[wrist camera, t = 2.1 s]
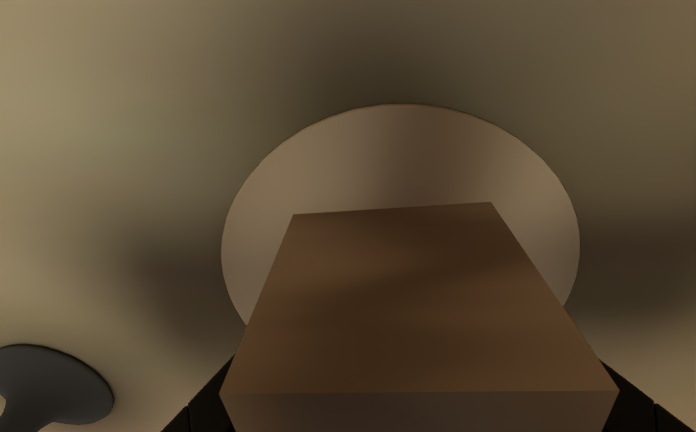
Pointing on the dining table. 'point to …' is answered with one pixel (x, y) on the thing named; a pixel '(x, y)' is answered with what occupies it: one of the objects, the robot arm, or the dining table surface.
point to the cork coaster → (398, 187)
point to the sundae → (48, 390)
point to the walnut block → (411, 332)
